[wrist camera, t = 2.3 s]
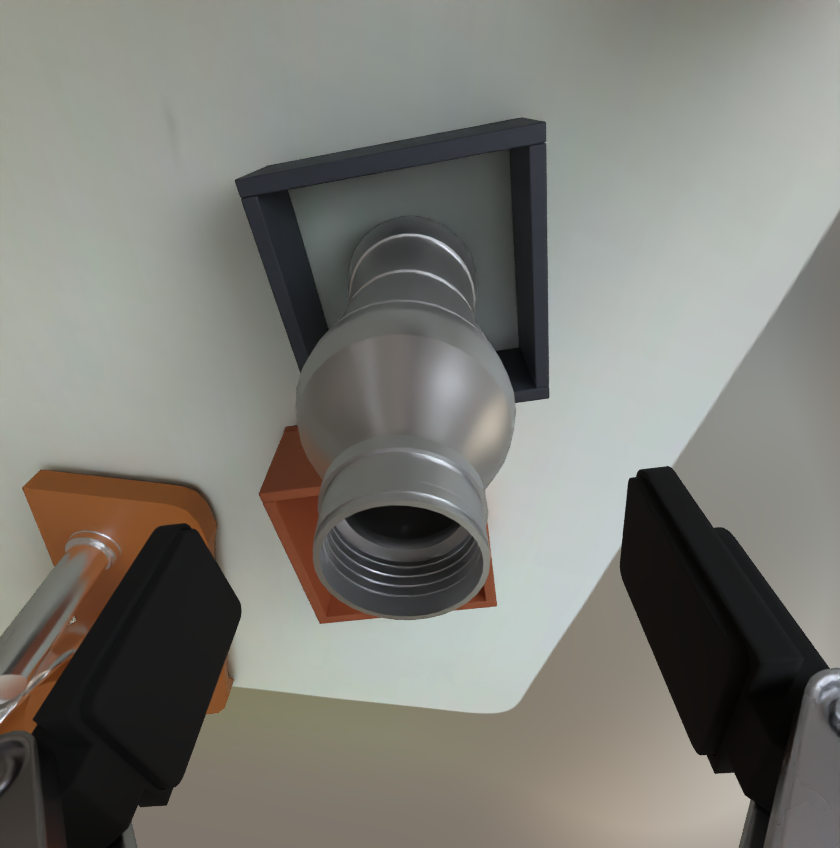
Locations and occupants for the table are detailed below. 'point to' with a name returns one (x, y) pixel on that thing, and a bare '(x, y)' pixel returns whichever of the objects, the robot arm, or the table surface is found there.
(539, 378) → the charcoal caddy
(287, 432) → the terracotta bin
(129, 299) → the table surface
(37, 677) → the desk clock
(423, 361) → the metal bottle
